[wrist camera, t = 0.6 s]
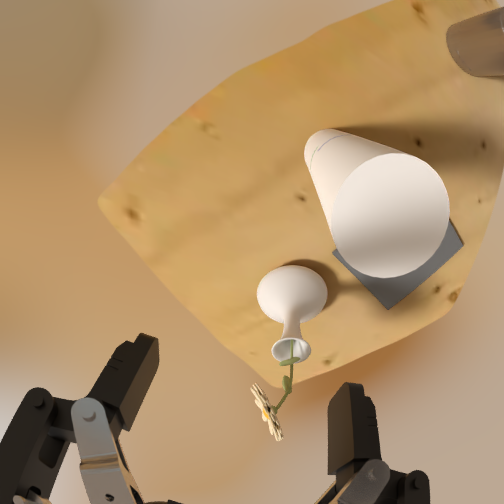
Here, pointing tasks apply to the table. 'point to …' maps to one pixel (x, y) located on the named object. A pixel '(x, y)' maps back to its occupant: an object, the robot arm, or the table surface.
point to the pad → (401, 286)
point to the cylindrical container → (377, 202)
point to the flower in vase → (288, 324)
